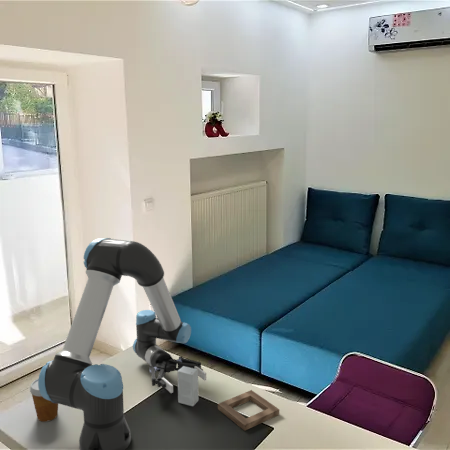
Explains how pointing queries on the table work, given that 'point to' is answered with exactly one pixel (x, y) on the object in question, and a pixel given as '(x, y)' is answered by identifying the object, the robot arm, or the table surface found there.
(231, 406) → the square wooden frame
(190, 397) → the skincare box
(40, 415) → the disposable coffee cup
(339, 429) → the table surface
